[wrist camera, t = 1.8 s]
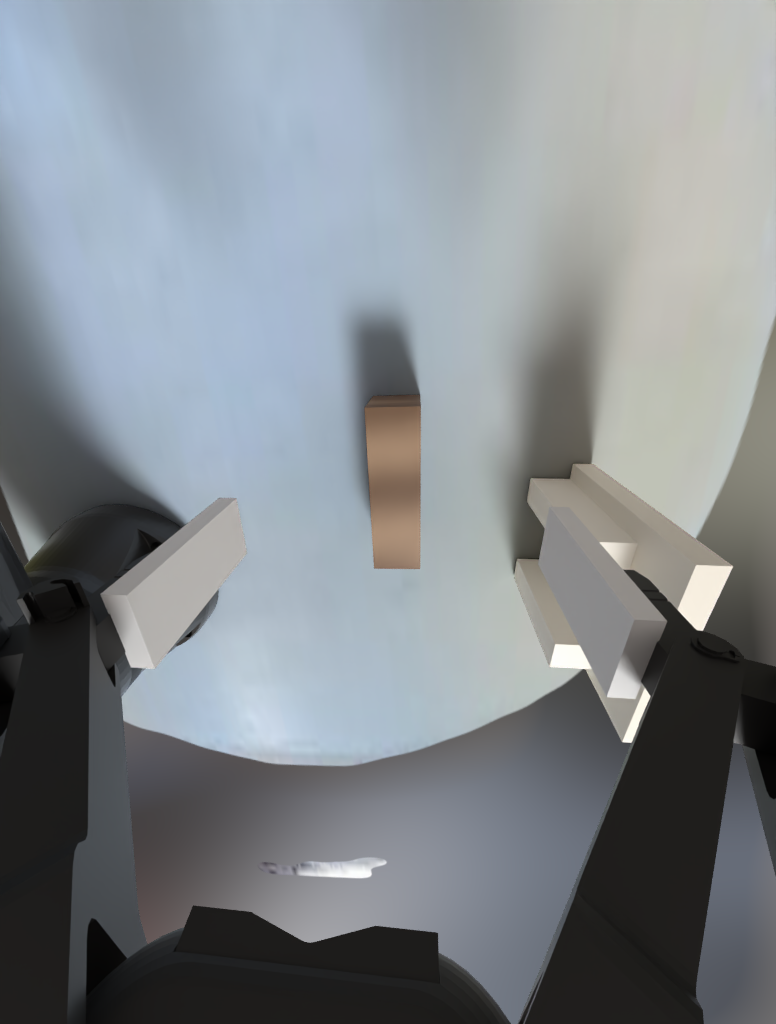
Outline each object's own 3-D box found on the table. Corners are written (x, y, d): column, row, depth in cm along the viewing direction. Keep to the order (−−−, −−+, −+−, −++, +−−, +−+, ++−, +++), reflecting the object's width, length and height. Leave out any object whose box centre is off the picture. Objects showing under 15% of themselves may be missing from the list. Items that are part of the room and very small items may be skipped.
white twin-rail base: (512, 588, 34) (568, 738, 21) (533, 463, 29) (623, 562, 16) (562, 590, 34) (649, 743, 21) (593, 464, 29) (733, 566, 16)
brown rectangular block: (419, 536, 33) (420, 568, 28) (379, 536, 33) (374, 568, 28) (420, 394, 27) (420, 406, 23) (373, 395, 28) (364, 407, 23)
